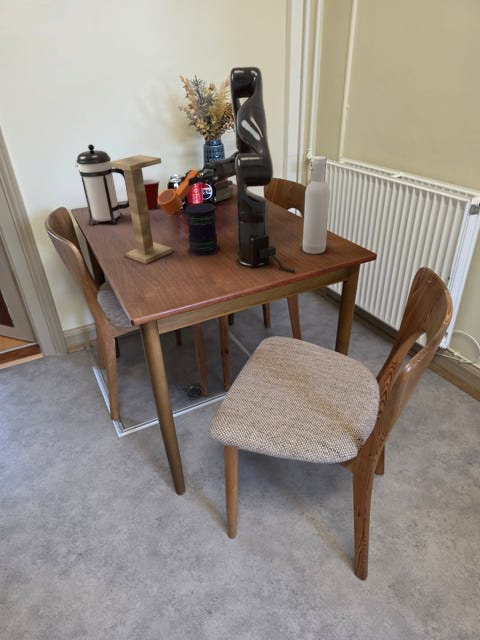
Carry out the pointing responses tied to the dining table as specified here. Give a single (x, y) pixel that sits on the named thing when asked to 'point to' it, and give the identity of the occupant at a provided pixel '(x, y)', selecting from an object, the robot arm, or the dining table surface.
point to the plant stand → (140, 208)
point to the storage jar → (202, 228)
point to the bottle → (316, 210)
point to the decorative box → (223, 190)
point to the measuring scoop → (176, 195)
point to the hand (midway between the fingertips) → (185, 181)
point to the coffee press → (99, 185)
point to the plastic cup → (151, 192)
